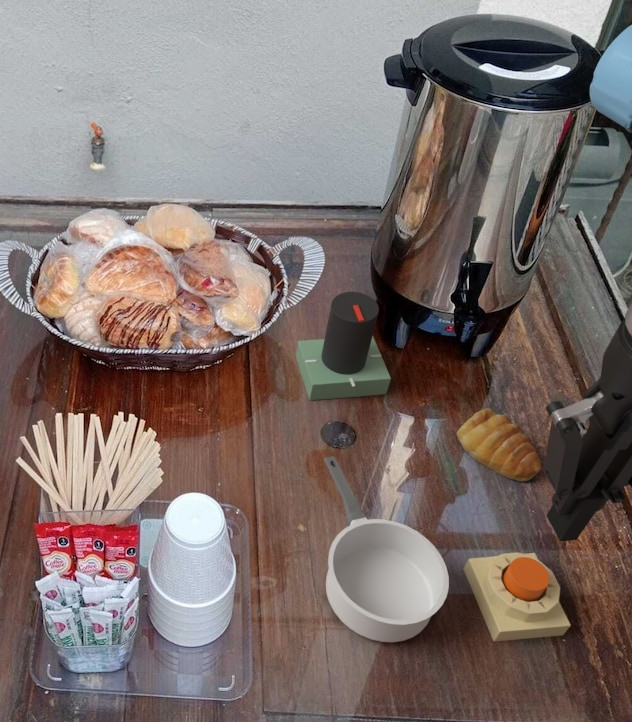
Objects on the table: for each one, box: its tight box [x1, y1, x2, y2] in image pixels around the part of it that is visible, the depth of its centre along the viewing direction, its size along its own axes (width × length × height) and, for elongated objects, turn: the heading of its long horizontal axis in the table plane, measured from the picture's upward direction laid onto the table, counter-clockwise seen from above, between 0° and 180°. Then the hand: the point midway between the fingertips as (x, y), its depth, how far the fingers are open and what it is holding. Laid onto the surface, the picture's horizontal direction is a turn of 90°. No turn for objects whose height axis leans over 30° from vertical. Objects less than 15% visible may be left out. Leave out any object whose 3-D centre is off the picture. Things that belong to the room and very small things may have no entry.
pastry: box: [456, 407, 542, 482], centre depth 90 cm, size 9×7×4 cm
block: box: [463, 551, 572, 642], centre depth 77 cm, size 7×8×4 cm
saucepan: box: [323, 455, 450, 643], centre depth 81 cm, size 12×20×6 cm, turn 13°
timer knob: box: [321, 291, 380, 374], centre depth 96 cm, size 6×6×9 cm
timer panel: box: [295, 335, 392, 401], centre depth 100 cm, size 10×10×3 cm
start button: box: [504, 557, 549, 601], centre depth 75 cm, size 4×4×2 cm
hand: (561, 527), depth 69 cm, fingers closed
